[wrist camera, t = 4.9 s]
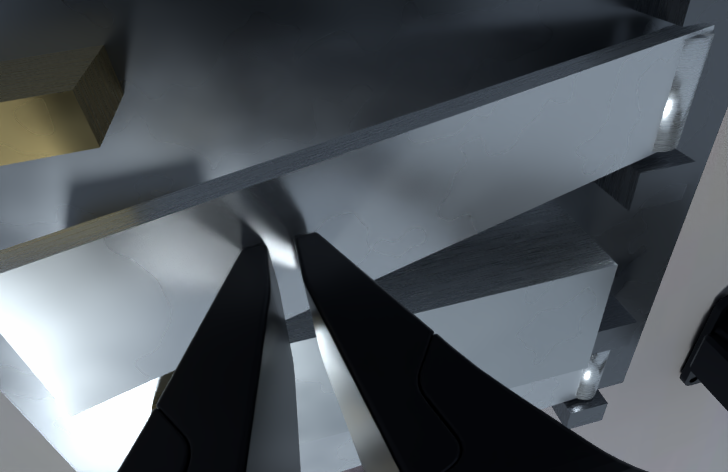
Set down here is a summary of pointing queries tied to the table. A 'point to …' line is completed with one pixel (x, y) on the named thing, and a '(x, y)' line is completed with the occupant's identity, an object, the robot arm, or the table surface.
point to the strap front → (336, 209)
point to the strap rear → (340, 454)
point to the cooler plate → (326, 122)
